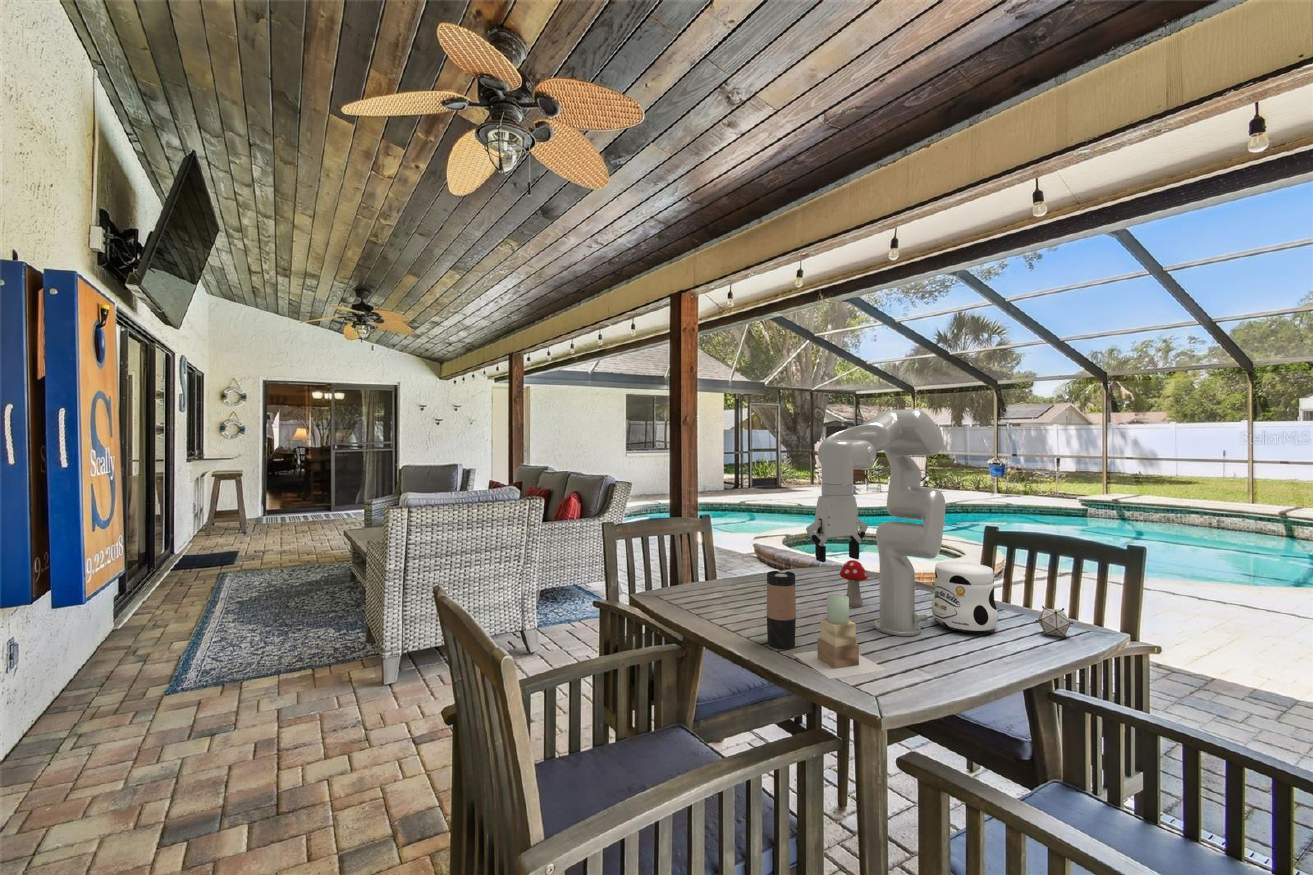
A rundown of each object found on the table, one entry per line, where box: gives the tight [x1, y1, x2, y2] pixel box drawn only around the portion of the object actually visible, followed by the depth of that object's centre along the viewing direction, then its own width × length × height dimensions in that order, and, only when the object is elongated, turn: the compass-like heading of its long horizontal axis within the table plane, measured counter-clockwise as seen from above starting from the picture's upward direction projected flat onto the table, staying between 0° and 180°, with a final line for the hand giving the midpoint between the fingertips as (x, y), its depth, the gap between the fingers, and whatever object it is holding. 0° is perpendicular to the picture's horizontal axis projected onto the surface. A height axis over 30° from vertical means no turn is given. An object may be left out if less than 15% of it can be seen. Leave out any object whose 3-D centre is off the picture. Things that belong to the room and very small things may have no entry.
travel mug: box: [766, 570, 797, 651], centre depth 154 cm, size 8×8×20 cm
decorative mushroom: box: [839, 559, 869, 608], centre depth 194 cm, size 10×9×15 cm
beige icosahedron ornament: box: [1035, 605, 1075, 640], centre depth 163 cm, size 9×8×10 cm
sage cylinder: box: [826, 593, 850, 625], centre depth 142 cm, size 5×5×6 cm
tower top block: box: [819, 617, 857, 647], centre depth 142 cm, size 6×6×5 cm
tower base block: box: [816, 637, 860, 669], centre depth 142 cm, size 7×7×5 cm
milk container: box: [931, 561, 999, 634], centre depth 170 cm, size 17×17×18 cm
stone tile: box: [792, 650, 888, 680], centre depth 142 cm, size 16×16×1 cm
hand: (837, 559), depth 142 cm, fingers open, 9 cm apart
